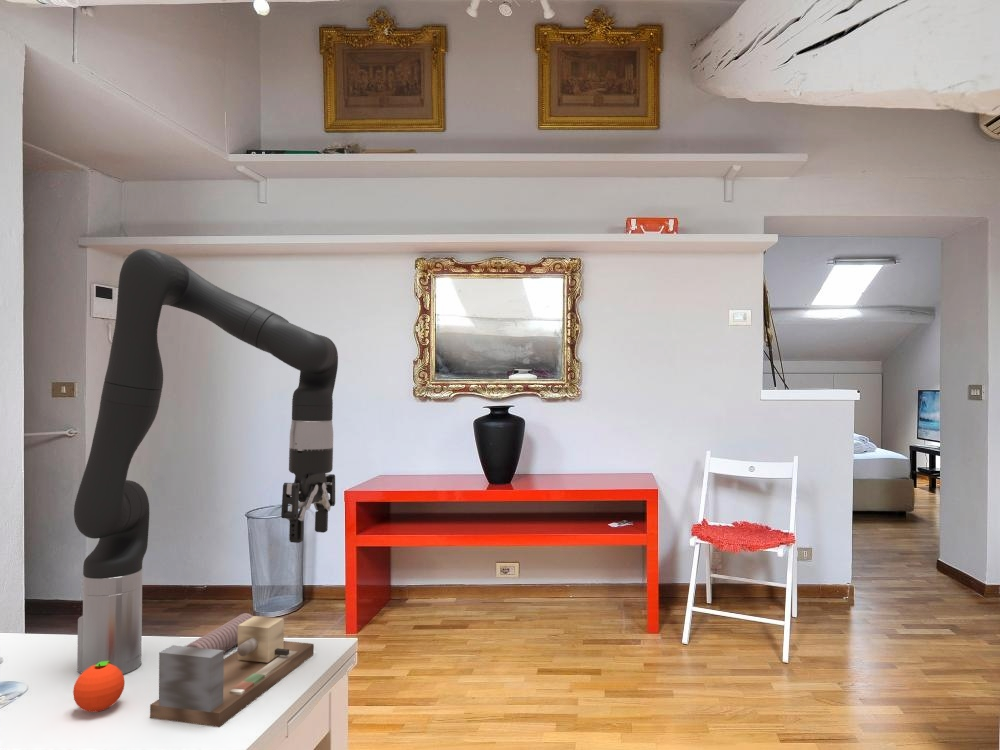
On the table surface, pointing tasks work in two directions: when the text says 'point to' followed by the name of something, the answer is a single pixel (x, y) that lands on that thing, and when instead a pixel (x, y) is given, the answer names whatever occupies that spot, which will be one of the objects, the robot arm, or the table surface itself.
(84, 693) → the clementine
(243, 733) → the table surface
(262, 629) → the block
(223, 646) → the coil
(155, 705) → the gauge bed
